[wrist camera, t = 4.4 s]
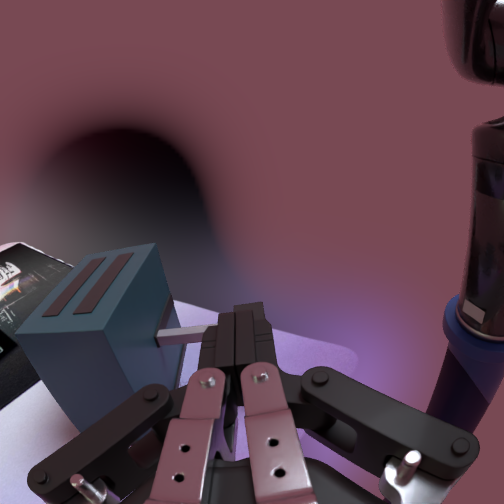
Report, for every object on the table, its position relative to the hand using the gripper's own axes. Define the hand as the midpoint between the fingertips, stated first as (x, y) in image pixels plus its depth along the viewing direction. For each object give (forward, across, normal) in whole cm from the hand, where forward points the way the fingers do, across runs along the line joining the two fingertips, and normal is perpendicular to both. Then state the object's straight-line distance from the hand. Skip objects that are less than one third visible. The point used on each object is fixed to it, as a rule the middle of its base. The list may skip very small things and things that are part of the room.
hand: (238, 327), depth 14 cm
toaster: (+9, +12, +13) cm, 20 cm away
